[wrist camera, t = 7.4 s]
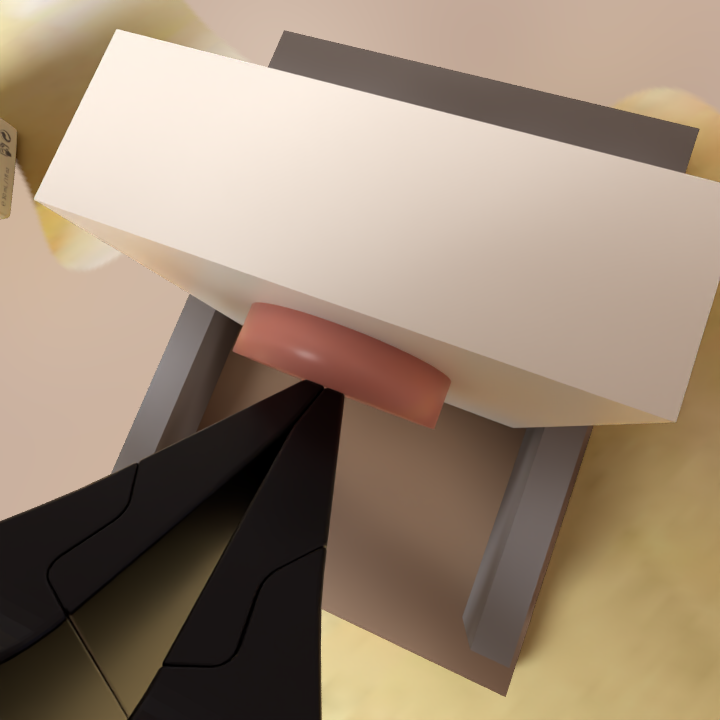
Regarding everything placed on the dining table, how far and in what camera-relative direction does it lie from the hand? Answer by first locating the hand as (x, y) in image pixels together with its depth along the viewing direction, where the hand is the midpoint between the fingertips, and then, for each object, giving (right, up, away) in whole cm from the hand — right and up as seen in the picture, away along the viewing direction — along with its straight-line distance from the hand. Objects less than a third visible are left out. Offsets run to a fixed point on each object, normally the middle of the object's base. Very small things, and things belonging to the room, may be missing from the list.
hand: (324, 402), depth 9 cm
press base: (+2, +1, +7) cm, 7 cm away
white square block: (+1, +1, +6) cm, 6 cm away
